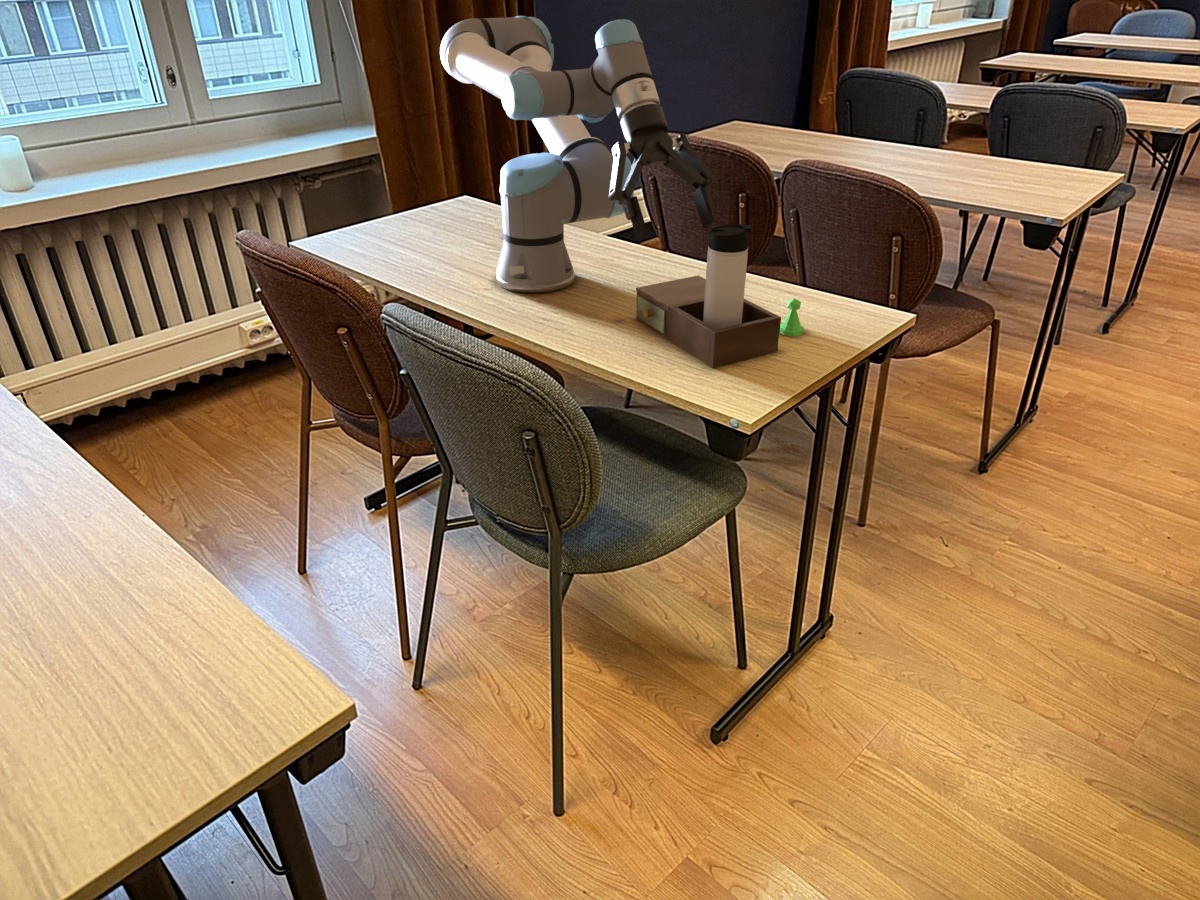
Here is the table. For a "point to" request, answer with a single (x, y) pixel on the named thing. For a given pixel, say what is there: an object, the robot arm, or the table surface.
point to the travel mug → (726, 275)
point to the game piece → (792, 320)
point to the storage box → (681, 322)
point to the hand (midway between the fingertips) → (676, 231)
